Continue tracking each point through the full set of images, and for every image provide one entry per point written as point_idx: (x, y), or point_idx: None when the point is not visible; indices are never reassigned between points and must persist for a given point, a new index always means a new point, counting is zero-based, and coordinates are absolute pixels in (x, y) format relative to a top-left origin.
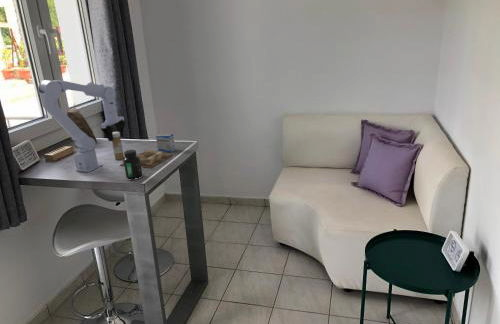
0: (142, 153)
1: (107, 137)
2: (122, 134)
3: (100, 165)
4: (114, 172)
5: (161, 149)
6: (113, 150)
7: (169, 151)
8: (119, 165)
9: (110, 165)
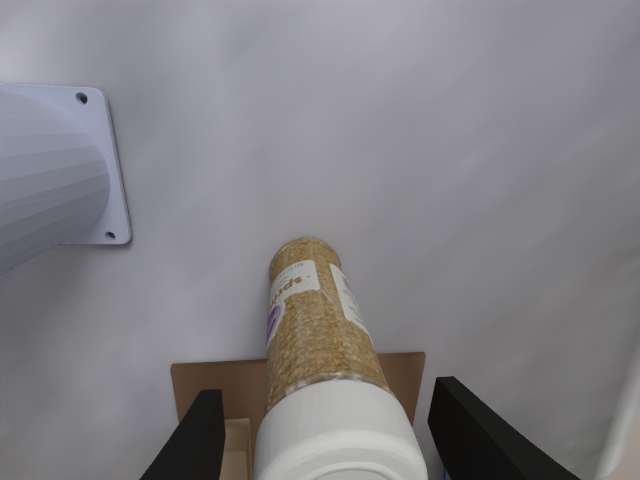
0: (407, 369)
1: (170, 444)
2: (440, 454)
3: (101, 243)
4: (61, 407)
5: None
6: (285, 278)
7: (445, 476)
8: (172, 365)
9: (156, 299)
